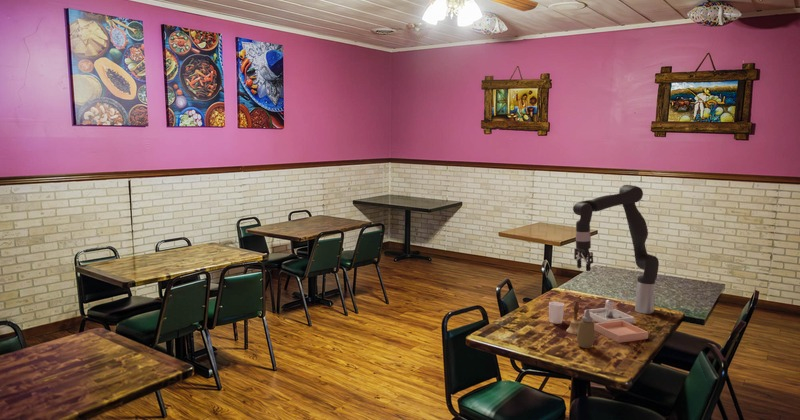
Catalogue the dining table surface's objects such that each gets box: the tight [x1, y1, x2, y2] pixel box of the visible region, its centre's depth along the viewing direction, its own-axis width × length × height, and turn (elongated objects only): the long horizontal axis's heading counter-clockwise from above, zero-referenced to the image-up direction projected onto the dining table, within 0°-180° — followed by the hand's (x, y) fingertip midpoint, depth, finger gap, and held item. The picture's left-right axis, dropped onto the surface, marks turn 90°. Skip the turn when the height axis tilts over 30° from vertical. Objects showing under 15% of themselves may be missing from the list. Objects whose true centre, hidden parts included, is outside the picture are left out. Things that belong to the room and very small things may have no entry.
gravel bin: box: [583, 307, 635, 325], centre depth 305 cm, size 18×18×4 cm
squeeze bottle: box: [576, 309, 596, 349], centre depth 265 cm, size 8×8×18 cm
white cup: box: [548, 300, 565, 325], centre depth 300 cm, size 8×8×10 cm
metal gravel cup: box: [604, 298, 615, 318], centre depth 305 cm, size 4×4×9 cm
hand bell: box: [566, 300, 580, 335], centre depth 285 cm, size 8×8×16 cm
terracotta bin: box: [594, 320, 649, 344], centre depth 283 cm, size 18×18×4 cm
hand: (583, 269), depth 303 cm, fingers open, 8 cm apart
